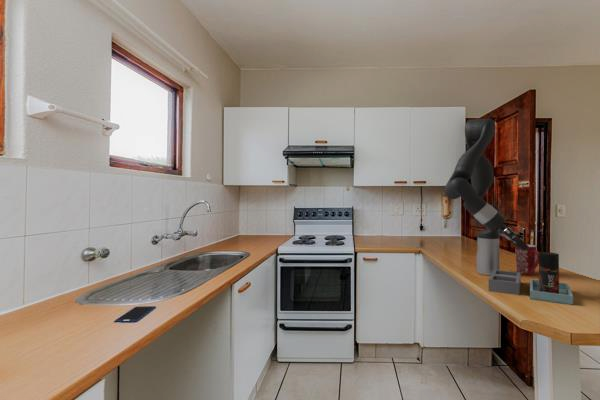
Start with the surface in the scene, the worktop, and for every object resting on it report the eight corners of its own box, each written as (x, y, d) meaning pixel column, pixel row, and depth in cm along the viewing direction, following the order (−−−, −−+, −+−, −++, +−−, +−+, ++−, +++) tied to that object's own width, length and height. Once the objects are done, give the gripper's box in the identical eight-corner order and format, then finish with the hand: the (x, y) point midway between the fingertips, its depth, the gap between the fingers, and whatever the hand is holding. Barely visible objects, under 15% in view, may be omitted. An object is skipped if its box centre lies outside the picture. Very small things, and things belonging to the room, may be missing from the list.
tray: (573, 305, 110) (573, 296, 110) (530, 299, 117) (529, 290, 117) (567, 291, 126) (567, 283, 126) (530, 286, 133) (530, 279, 133)
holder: (519, 295, 122) (519, 283, 122) (488, 290, 128) (488, 279, 128) (520, 282, 139) (520, 272, 139) (493, 279, 145) (493, 269, 145)
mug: (510, 271, 161) (509, 244, 161) (527, 270, 162) (527, 243, 162) (528, 277, 149) (528, 248, 149) (548, 277, 149) (547, 247, 149)
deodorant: (552, 291, 125) (551, 252, 125) (563, 295, 119) (562, 254, 119) (535, 290, 125) (535, 252, 125) (545, 295, 119) (545, 254, 119)
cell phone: (112, 324, 98) (112, 321, 98) (136, 308, 112) (136, 306, 112) (136, 323, 98) (136, 321, 98) (157, 308, 112) (157, 305, 112)
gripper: (500, 211, 121) (537, 243, 117) (492, 209, 134) (525, 238, 130) (484, 225, 123) (520, 256, 119) (478, 222, 136) (510, 250, 132)
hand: (523, 247), depth 125 cm, fingers open, 8 cm apart
